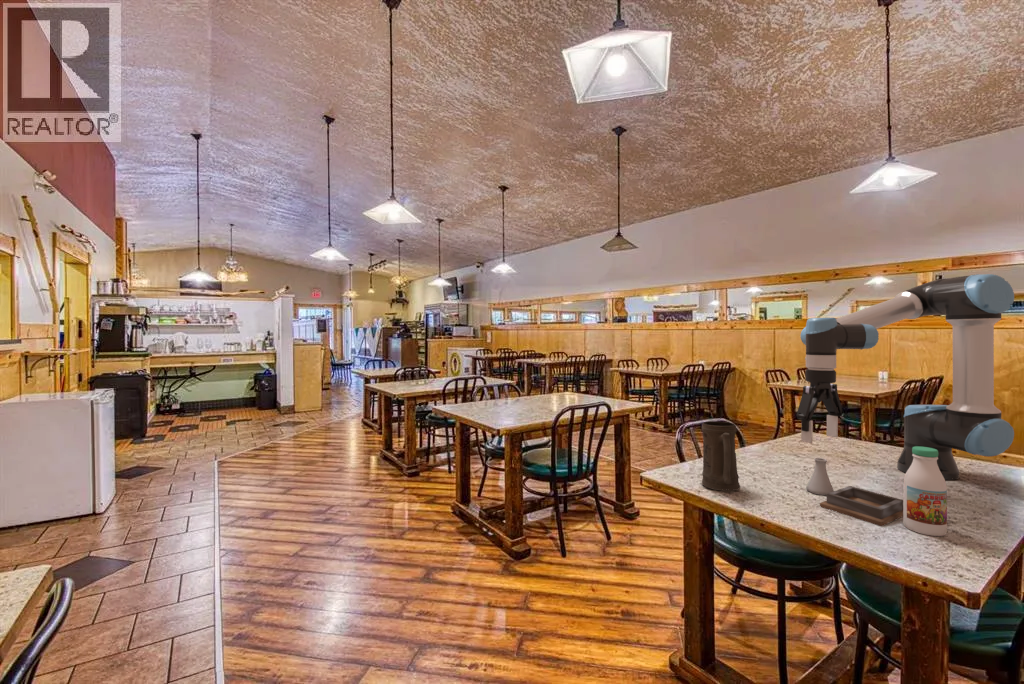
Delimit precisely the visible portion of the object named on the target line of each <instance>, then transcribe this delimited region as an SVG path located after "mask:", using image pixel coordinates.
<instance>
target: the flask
mask: <svg viewBox="0 0 1024 684" xmlns="http://www.w3.org/2000/svg"><path fill="white" fill-rule="evenodd" d="M813 460H814V461H815V462H814V470H813V471H812V474H811V477H810V478H809V481H808V483H807V485H806V491H808V492H810V493H812V494H814V495H821V496H827V494H828V493H831V492H833V491H835V490H834V487H833V485H832V482H831V480H830V478H829V475H828V470H827V463H828V460H827V458H823V457H814V458H813Z"/></svg>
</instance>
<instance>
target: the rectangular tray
mask: <svg viewBox="0 0 1024 684" xmlns="http://www.w3.org/2000/svg"><path fill="white" fill-rule="evenodd" d="M820 506H821V507H820ZM819 507H820V508H823V509H827V510H829V509H830V511H832V510H833V512H835V511H837V512H836V513H838V512H839V514H842V515H845V516H848V517H852V518H854V519H858V520H861V521H864V522H866V523H867V522H868V523H870V524H873V525H877V526H879V527H883V526H885V525H888V524H890V523H891V522H894V521H896V520H898V519H900V518H903V499H900V498H898V497H894V496H889V495H887V494H881V493H878V492H874V491H872V490H871V491H870V490H866V489H865V488H860V487H857V486H852V485H849V486H845V487H842V488H840V489H837V490H834V491H833V492H831V493H828V494H827V495H826V500H825V501H821V502H820V503H819Z"/></svg>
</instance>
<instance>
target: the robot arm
mask: <svg viewBox="0 0 1024 684" xmlns="http://www.w3.org/2000/svg"><path fill="white" fill-rule="evenodd" d="M1013 289H1014V288H1013V287H1012V285H1011V284H1010V283H1009V281H1008V280H1005V278H1004V277H1002V276H1000V275H997V274H994V273H985V274H982V273H981V274H979V273H978V274H977V273H976V274H971V275H964V276H955V277H949V278H940V279H935V280H931V281H928V282H926V283H922V284H920V285H917V286H915V287H912V288H909V289H906V290H904V291H901V292H899V293H897V294H896V295H895V296H894V297H893V298H890V299H888V300H885V301H882V302H879V303H876V304H873V305H870V306H868V307H865V308H863V309H860V310H857V311H854V312H851V313H848V314H845V315H842V316H840V317H837V318H836V317H811V318H808V319H807V320H806V324H805V327H804V328H803V329H802V330H801V332H800V341H801V342H802V343H803V345H805V357H804V360H805V367H806V370H805V373H804V374H805V377H804V378H805V381H806V382H808V383H810V384H809V385H804V386H802V396H801V397H800V401H799V405H798V408H797V412H796V414H795V415H796V416H795V417H796V418H797V420H801V424H800V425H801V433H800V434H801V435H800V438H801V439H800V441H801V442H804V443H808V444H812V443H813V442H814V439H813V437H814V435H813V431H814V430H813V429H814V426H813V425H814V424H813V423H814V421H813V420H812V417H813V415H814V414H815V411H816V409H817V407H818V404H819V403H821V402H822V403H823V405H824V407H825V409H826V411H827V413H828V414H826V437H830V438H835V439H837V438H839V437H838V435H839V434H838V433H839V432H838V431H839V417H842V416H843V408H842V404H841V401H840V396H839V393H838V385H837V384H835V383H836V382H837V371H836V370H835V369H836V368H837V350H861V351H862V350H865V349H866V350H868V349H872V348H874V347H875V346H877V343H878V342H879V338H880V337H879V331H878V329H881V328H883V327H886V326H888V325H891V324H894V323H898V322H900V321H903V320H905V319H906V320H915V319H918V318H921V317H927V316H940V315H941V316H943V315H944V316H945V321H946V322H947V323H949V324H950V325H951V326H952V402H951V403H950V404H948V405H947V404H909V405H906V406H905V408H904V414H903V441H904V442H903V449H902V451H901V453H900V455H899V457H898V459H897V462H896V463H897V464H896V466H897V467H896V468H897V470H899V471H901V472H903V473H905V474H906V472H907V470H908V469H909V467H910V466H911V464H912V462H913V456H912V455H913V453H912V448H913V447H915V446H921V447H929V448H933V449H936V450H938V459H937V465H938V467H939V470H940V472H941V473H942V475H943V477H944V479H945V481H947V480H949V481H952V480H957V479H959V478H960V470H959V467H958V465H957V462H956V460H955V457H954V455H953V450H958V451H960V452H961V451H962V452H965V453H968V454H972V455H978V456H982V457H995V456H998V455H1002V454H1003V453H1005V451H1006V450H1009V448H1010V446H1011V445H1012V443H1013V441H1014V438H1015V430H1014V427H1013V426H1012V425H1011V424H1010V422H1008V421H1006V420H1005V419H1002V411H1001V409H999V408H997V406H996V405H995V404H994V401H995V397H994V396H995V392H994V391H995V390H994V387H995V386H994V384H995V382H994V381H995V379H994V377H995V376H994V375H995V373H994V370H995V368H994V367H995V364H994V363H995V359H994V357H995V356H994V352H995V348H994V347H995V344H994V342H995V339H994V338H995V334H994V331H995V329H994V326H995V325H996V324H997V323H998V322H1000V321H1001V320H1002V314H1003V313H1005V312H1006V311H1008V310H1009V309H1011V306H1012V305H1013V304H1014V302H1015V301H1014V300H1015V292H1014V290H1013Z"/></svg>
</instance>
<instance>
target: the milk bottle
mask: <svg viewBox="0 0 1024 684" xmlns="http://www.w3.org/2000/svg"><path fill="white" fill-rule="evenodd" d="M912 453H913V455H912V456H913V462H912V464H911V466H910V467H909V469H908V470H907V472H906V473H905V474H904V479H903V490H902V492H903V495H902V496H903V497H902V498H903V499H902V500H903V517H902V518H903V519H902V521H903V526H904V527H905V528H906V529H907V530H911V531H913V532H915V533H917V534H918V533H919V534H922V535H926V536H933V537H934V536H935V537H943V536H945V535H947V531H948V489H947V482H946V480H945V479H944V477H943V475H942V473H941V472H940V470H939V467H938V465H937V459H938V450H936V449H933V448H929V447H921V446H915V447H913V448H912Z"/></svg>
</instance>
